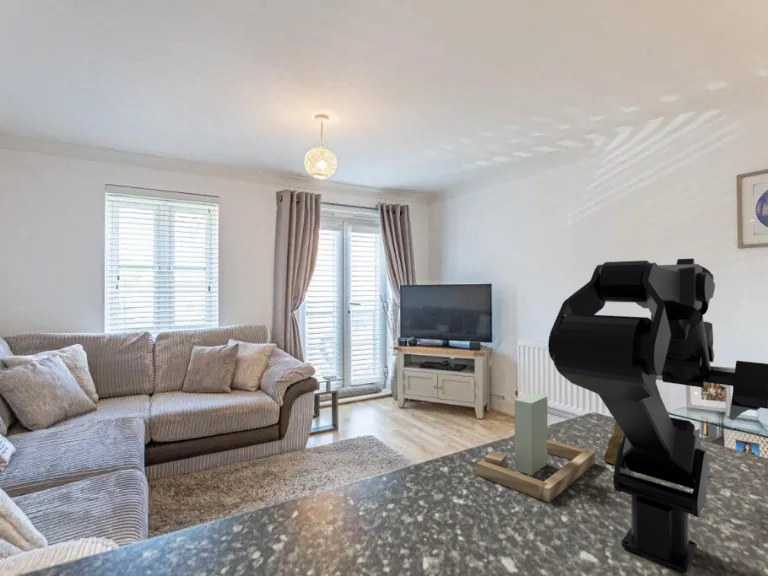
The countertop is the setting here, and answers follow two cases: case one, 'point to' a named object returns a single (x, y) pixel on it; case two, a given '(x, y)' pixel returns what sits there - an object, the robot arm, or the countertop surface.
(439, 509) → the countertop surface
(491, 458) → the offcut stack
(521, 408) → the pale green rectangular pillar
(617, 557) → the countertop surface
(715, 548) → the countertop surface
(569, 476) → the wooden u-shaped frame
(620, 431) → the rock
